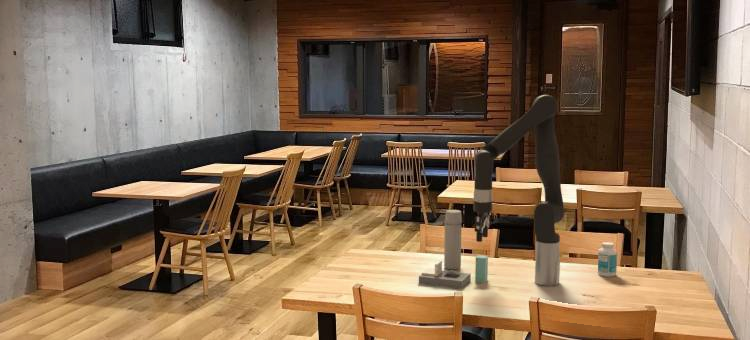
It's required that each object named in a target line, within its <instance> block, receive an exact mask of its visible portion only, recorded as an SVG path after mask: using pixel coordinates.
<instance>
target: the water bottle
mask: <svg viewBox="0 0 750 340" xmlns="http://www.w3.org/2000/svg"><path fill="white" fill-rule="evenodd" d="M444 216H445V218H444V221H443V223H444V252H443V253H444V254H443V255H444V256H443V257H444V259H443V261H444V263H443V264H444V265H443V267H444V268H445V269H447V270H449V271H450V270H454V271H455V270H460V269H461V266H462V264H461V263H462V223H463V215H462V211H461V210H458V209H448V210H445V215H444Z"/></svg>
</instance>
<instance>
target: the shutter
mask: <svg viewBox="0 0 750 340" xmlns="http://www.w3.org/2000/svg"><path fill="white" fill-rule="evenodd" d="M442 271H443V261H442V260H439V261H437V262H435V264H434V269H433V268H426V269H425V270H423V271H422V272H421V274H422V275H429V276H438V275H439V274H440V273H442Z"/></svg>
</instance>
